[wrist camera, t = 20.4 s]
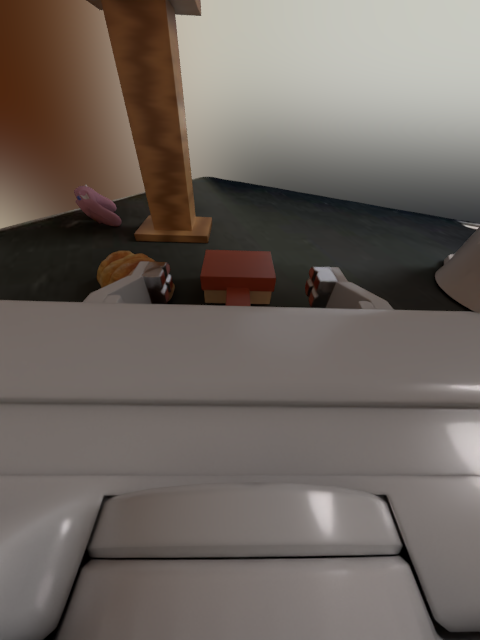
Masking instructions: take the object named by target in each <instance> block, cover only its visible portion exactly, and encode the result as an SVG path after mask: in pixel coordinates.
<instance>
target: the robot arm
mask: <svg viewBox="0 0 480 640" xmlns="http://www.w3.org/2000/svg"><path fill="white" fill-rule="evenodd" d="M169 272H170V266H169V264H168V262H149V261H141V262H139V264H138V265H137V267H136V268H135V270H134V271H133V273H132V274H131V276H126V277H124V278H122V279H120V280H118V281H116V282H114V283H111V284H109V285H107V286H105V287H103V288H101V289H99V290H96V291H94V292H92V293H90V294H89V295H88V296H87V298H86V299H85V300H84V301H83V302H51V301H15V300H0V640H480V227H479V228H478V229H477V230H476V231H475V232H474V233H473V235H472V236H471V237H470V238H469V239H468V240H467V241H466V242H465V243H464V244H463V246H462V247H461V248H460V249H459V250H458V251H457V252H456V253H455V254H450V255H449V256H448V257H447V258H446V259H445V260H444V266H442V267H441V268H440V269H439V270H438V271H437V272H436V273H435V279H436V282H437V283H438V285H439V286H440V287H441V289H442V290H443V291H444V292H445V293H447V294H448V295H449V296H450V297H452V298H453V299H454V300H456V301H457V302H459V303H460V304H462V305H464V306H465V307H467V308H469V309H471V310H472V311H474V312H468V311H423V310H394V309H393V308H392V307H391V306H390V304H389V303H388V302H387V301H386V300H384V299H382V298H380V297H378V296H376V295H374V294H372V293H370V292H369V291H367V290H365V289H363V288H361V287H359V286H357V285H355V284H353V283H351V282H348V281H347V280H346V278H345V276H344V275H343V273H342V272H341V270H340V269H339V268H338V267H311V269H310V271H309V276H310V278H309V279H308V280H307V281H306V286H305V292H306V295H307V296H308V297H309V300H308V301H309V303H310V306H311V308H298V307H256V306H216V305H176V304H167V302H168V300H169V293H171V291H172V287H173V281H172V276H171V275H170V274H169Z"/></svg>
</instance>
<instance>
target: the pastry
mask: <svg viewBox="0 0 480 640" xmlns="http://www.w3.org/2000/svg"><path fill="white" fill-rule="evenodd" d="M141 261H149V262H155V261H154V260H153V259H151V258H149V257H148V256H146V255H144V254H141V253H140V254H133V253H131V252H130V251H118V252H114V253H111V254H110V255H109V256H108V257H107V258H106V259H105V260H104V261H102V262H101V264H100V266H99V268H98V272H97V280H98V282H99V283H100V285H101V288H103V287H105V286H107V285H109V284H111V283H114V282H116V281H118V280H120V279H122V278H124V277H126V276H131V274H132V273H133V271H134V270H135V268H136V267H137V265H138V264H139V262H141ZM174 288H175V285H174V284H173V287H172V291H171V293H169V300H170V299H171V298H172V296H173V292H174ZM169 300H168V301H169Z"/></svg>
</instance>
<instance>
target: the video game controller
mask: <svg viewBox="0 0 480 640" xmlns="http://www.w3.org/2000/svg"><path fill="white" fill-rule="evenodd" d="M74 193H75V196H76V198H77V200H76V203H77V205H78V206H79V207H80V208H81V210H82V211H83V212H84V213H85V214H86V215H87V216H89V217H90V218H91V219H93V220H94V221H97V222H98V223H99V224H101V223H103V224H106V225H109V226H115V227H116V226H120V225H121V219H120V217H119V216H118V215H116V214H115V213H113V212H115V211H116V205H115V204H114V203H113V202H112V201H111V200H109V199H108V198H106V197H104V196H102V195H100V194H98V193H97V192H95V191H94V190H93V189H92V188H89V187H87V185H85V186H80V187H78V188H76V189H75V190H74Z"/></svg>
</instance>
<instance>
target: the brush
mask: <svg viewBox="0 0 480 640" xmlns="http://www.w3.org/2000/svg"><path fill="white" fill-rule="evenodd" d="M200 278H201V287H202V290H204V296H205V303H226V306H251V304H270V298H271V292H274V288H275V282H276V276H275V271H274V267H273V262H272V258H271V254H270V252H265V251H228V250H206V253H205V257H204V262H203V266H202V271H201V276H200Z"/></svg>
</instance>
